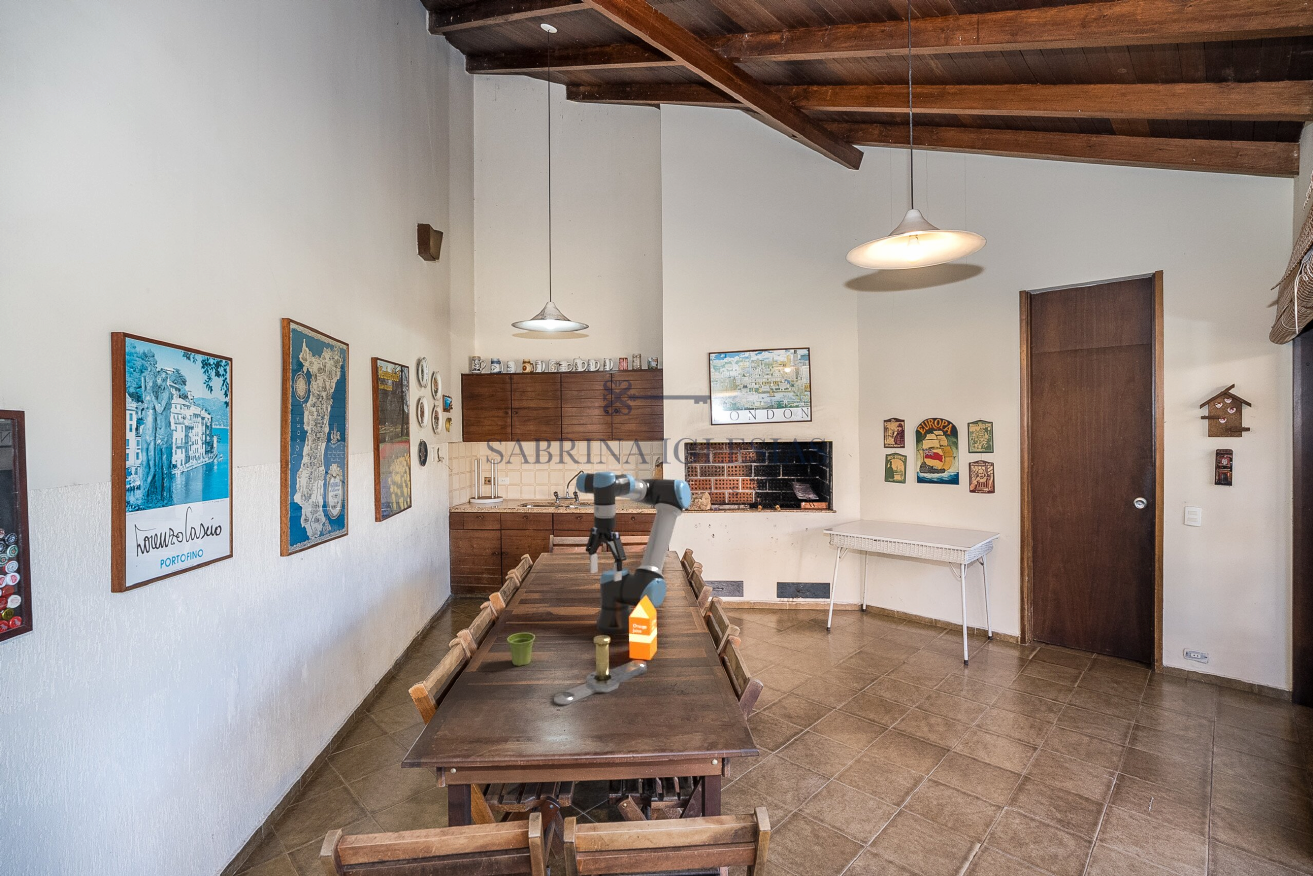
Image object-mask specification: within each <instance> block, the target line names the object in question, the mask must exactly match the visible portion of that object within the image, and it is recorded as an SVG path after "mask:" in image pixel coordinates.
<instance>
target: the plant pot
mask: <svg viewBox="0 0 1313 876" xmlns="http://www.w3.org/2000/svg"><path fill="white" fill-rule="evenodd" d="M535 639H536V636H535V634H533V633H531V632H518V633H514V634H511V635H509V636H508V637H507V638H506V640H507V642H508V645H509V648H510V655H511V656H510V657H511V661H512V664H513V665H514V666H519V667H520V666H524V665H525V666H526V665H528V664H530V663H531V660H532V652H533V643H534V640H535Z"/></svg>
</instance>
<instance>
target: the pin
mask: <svg viewBox="0 0 1313 876" xmlns="http://www.w3.org/2000/svg"><path fill="white" fill-rule="evenodd" d="M610 643H611V636H609V635H607V634H605V635H604V634H602V635H601V634H600V635H596V636H594V637H593V644H595V663H596V664H595V672H596V680H597V681H607V680H609V670H610V662H609V661H610V658H609V657H610V654H609V650H610V649H609V647H610V646H609V644H610Z"/></svg>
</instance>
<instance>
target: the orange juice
mask: <svg viewBox="0 0 1313 876" xmlns="http://www.w3.org/2000/svg"><path fill="white" fill-rule="evenodd" d="M631 613H632V614H631V615H630V616H629V633H628V636H629V637H628V639H629V640H628V641H629V643H628V644H629V659H636V660H648V661H651V660H652V658H653V657H654V655H655V654H656V652H657V649H658V648H657V646H658V643H657V641H658V640H657V639H658V638H657V637H658V636H657V635H658V630H657V629H658V628H657V626H658V625H657V610H656V608H654V607H653V605H652V604H651V602H650V601H649V599H648V598H647V596H645V597H644V598H643V599H642V600H641V601H640V602H639V603H638V605H637V606H635V608H634V609H633V611H631Z"/></svg>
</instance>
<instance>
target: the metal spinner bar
mask: <svg viewBox="0 0 1313 876" xmlns="http://www.w3.org/2000/svg"><path fill="white" fill-rule="evenodd" d="M646 673H647V662H646V661H645V660H644V659H633V660H630V661H629V662H627V663H625V664H622V665H619V666H617V667H614V668H612V669H609V680H607V681H597V680H596V671H593V672H591V673H588V674H587V676H586V679H585V683H583V684H580V685H577V686H575V687H573V688H570V689H568V690H565V691H562V692H558V693H556V694H555V695H554V697H553V699H554V700H553V702H554V704H556V705H558V706H567V705H572V704H573V703H574V702H577V701H578V700H582V699H584V698H586V697H588V696H591V695H593V694H596V693H609V692H612V691H614V690H617V689H618V688H619V684H620V683H623V682H625V681H628V680H630V679H632V678H635V677H638V676H639V675H644V674H646Z"/></svg>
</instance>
